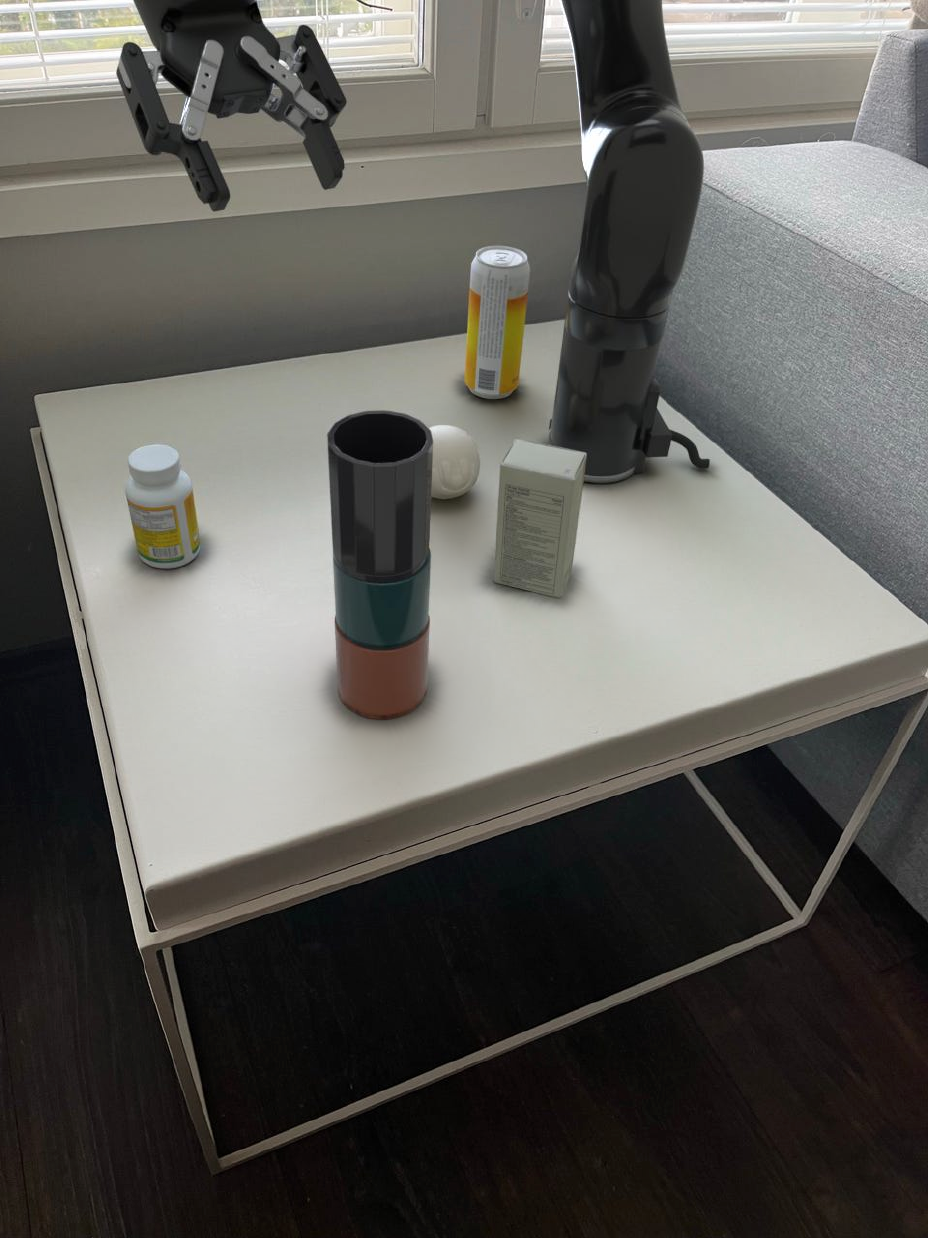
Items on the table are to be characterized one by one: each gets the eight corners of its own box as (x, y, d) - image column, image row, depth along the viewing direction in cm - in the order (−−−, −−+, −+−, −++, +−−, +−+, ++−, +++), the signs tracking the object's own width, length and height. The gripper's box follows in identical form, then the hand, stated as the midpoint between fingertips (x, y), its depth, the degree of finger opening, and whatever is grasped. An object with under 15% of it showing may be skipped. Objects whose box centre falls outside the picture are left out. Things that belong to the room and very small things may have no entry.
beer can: (519, 377, 111) (532, 246, 101) (516, 403, 107) (529, 270, 97) (466, 372, 112) (474, 241, 101) (461, 398, 107) (469, 264, 97)
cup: (422, 521, 68) (426, 408, 62) (433, 580, 64) (438, 464, 58) (330, 526, 67) (325, 411, 61) (335, 585, 63) (329, 468, 57)
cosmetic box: (572, 570, 86) (592, 452, 78) (560, 600, 83) (579, 480, 74) (503, 552, 87) (515, 434, 79) (488, 581, 84) (499, 462, 76)
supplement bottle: (164, 578, 82) (145, 484, 76) (125, 551, 84) (104, 457, 78) (214, 550, 85) (200, 457, 79) (176, 524, 88) (159, 432, 81)
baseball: (421, 520, 90) (423, 459, 86) (399, 477, 95) (400, 417, 91) (489, 509, 92) (494, 449, 87) (464, 467, 97) (468, 408, 92)
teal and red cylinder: (421, 652, 77) (426, 520, 68) (432, 716, 72) (438, 582, 63) (335, 658, 76) (329, 524, 67) (340, 723, 71) (333, 588, 62)
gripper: (79, -80, 57) (196, 182, 58) (290, -88, 64) (390, 146, 65) (64, 7, 64) (169, 241, 65) (257, -9, 70) (349, 203, 72)
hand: (280, 193), depth 65 cm, fingers open, 8 cm apart
